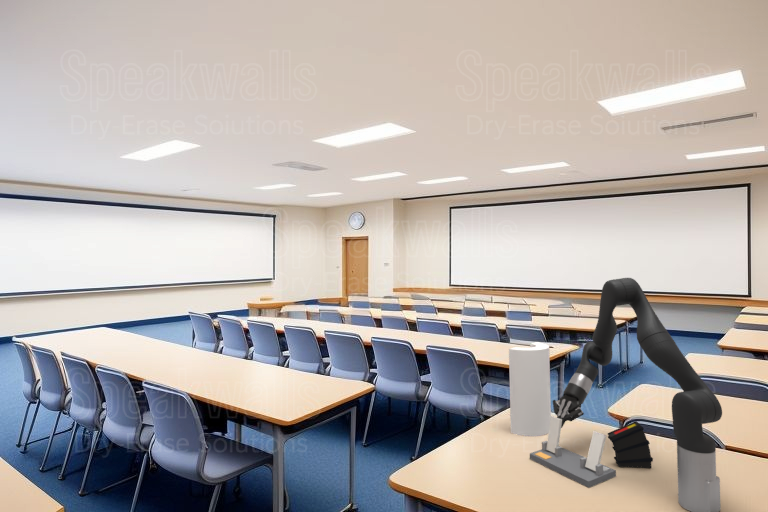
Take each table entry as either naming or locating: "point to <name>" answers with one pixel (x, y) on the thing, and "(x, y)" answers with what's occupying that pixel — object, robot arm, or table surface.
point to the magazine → (631, 446)
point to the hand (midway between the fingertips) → (556, 427)
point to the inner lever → (595, 450)
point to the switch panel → (572, 466)
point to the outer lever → (554, 434)
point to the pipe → (530, 390)
